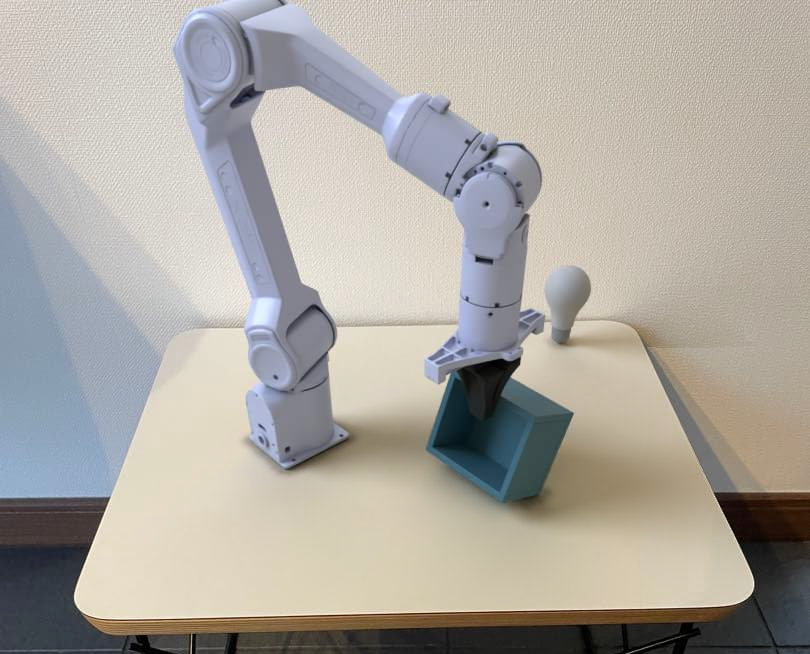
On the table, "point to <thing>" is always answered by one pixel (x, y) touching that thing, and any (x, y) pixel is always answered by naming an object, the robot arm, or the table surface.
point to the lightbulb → (566, 298)
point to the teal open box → (500, 439)
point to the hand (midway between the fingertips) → (481, 414)
